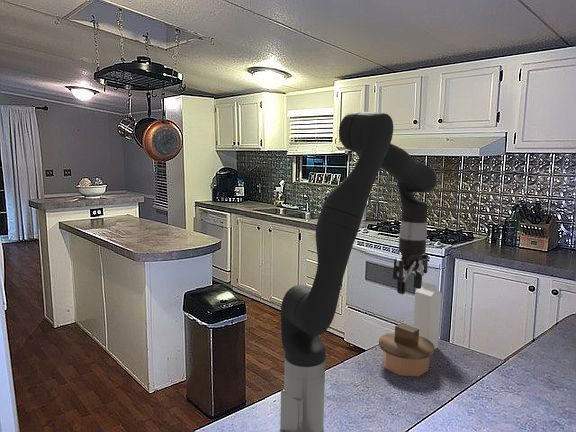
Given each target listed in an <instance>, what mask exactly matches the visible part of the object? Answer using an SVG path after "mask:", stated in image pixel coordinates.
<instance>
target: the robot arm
mask: <svg viewBox="0 0 576 432" xmlns="http://www.w3.org/2000/svg"><path fill="white" fill-rule="evenodd" d="M393 134H394V121H393V118H392V117H391V115H389V114H388V113H385V112H378V111H377V112H376V111H354V112H350V113H347V114H345V116H344V117H343V118H342V119H341V121H340V123H339V128H338V136H339V142H340V143H341V145H342V146H343V147H344V148H345V149H347V150H348V151H350V152H353V153H355V154H357V155H359V157H358V160H357V162H356V164H355V166H354V167H353V169H352V170H351V171H350V173H349V174H348V175H347V176H346V177H345V178H344V179H343V180H342V181H341V182H340V183H339V184H338V185H337V186H335V188H334V189H333V190H332V191H331V192H330V193H329V194H328V196H327V197H326V198H325V200H324V202H323V205H322V208H321V209H320V213H319V216H318V218H317V223H316V226H315V246H316V254H317V266H316V272H315V276H314V280H313V282H312V286H311V287H310V286H307V285H304V284H297V285H293V286H292V287H290V288H289V289H288V290H287V291H286V292H285V294H284V296H283V299H282V300H281V306H280V333H281V334H280V335H281V339H280V340H281V346H282V347H283V349H284V377H283V378H284V381H283V382H284V383H283V384H284V387H283V389H281V390H280V414H279V415H280V417H279V419H280V422H279V424H280V429H281V430H282V431H283V432H323V431H324V425H325V424H324V421H325V418H324V417H325V390H326V389H325V388H326V387H325V383H326V358H327V353H326V352H327V351H326V350H327V349H326V345H325V344H324V342H323V341H322V339H321V338H320V336H321V335H323V334H324V333H326V331H327V330H328V329H329V328H330V327H331V324H332V323H333V320H334V318H335V314H336V311H337V307H338V304H339V303H338V302H339V298H340V294H341V290H342V289H341V288H342V286H343V285H342V284H343V282H344V281H343V280H344V277H345V273H346V269H347V267H348V262H349V259H350V256H351V253H352V249H353V245H354V243H355V240H356V237H357V236H358V232H359V229H360V226H361V223H362V220H363V218H364V217H363V216H364V213H365V209H366V207H367V203H368V201H369V197H370V195H371V192H372V188H373V187H374V183H375V181H376V179H377V176H378V173H379V172H380V169H381V168H382V169H383V170H384V171H385V172H387V174H389V175H390V176H392V177H393V178H394V179H395V180H396V181H397V188H398V191H399V196H400V202H401V222H400V227H399V242H398V251H399V253H400V254H401V258H400V259H399V258H395V259H394V260H393V268H392V269H393V270H392V279H393V280H395V281H397V284H396V285H397V286H396V292H397V293H398V295H399V294H400V295H405V293H406V286H407V285H406V283H407V281H406V280H407V278H408V277H409V276H411V273H412V272H413V273H414V276H413V278H414V279H413V288H415V289H416V290H417V289H420V288H421V286H422V281H423V277H424V276H425V274H427V273H428V266H429V265H428V263H429V262H428V258H429V256H428V253H426V248H427V235H428V225H427V224H428V223H427V221H428V203H426V201H423V200H420V199H418V198H416V197H415V195H414V193H419V194H420V193H421V194H426V193H429V192H432V191H433V190H434V189H435V187H436V185H437V182H438V180H437V175H436V172H435V171H434V170H433V169H432V168H431V167H430V166H428V165H426V164H425V163H422V162H421V161H418V160H415V159H414V158H413V156H411V155H410V154H409V153H408V152H407V151H406V150H405V149H403V148H401V147H399V146H397V145H395V144H394V143H392V139H393Z"/></svg>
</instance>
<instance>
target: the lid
mask: <svg viewBox="0 0 576 432" xmlns="http://www.w3.org/2000/svg"><path fill="white" fill-rule="evenodd" d="M378 347H380V349H381V350H382V352H383V351H385V352H386V353H388V354H390V355H393V356H396V357H400V358H405V359H423V358H427V357H429V358H430V357H431V356H432V355H434V353H435V349H434V345H433V344H432V342H430V341H429V340H428V339H426V338H424V337H421V336H419V329H417V328H414V327H413V325H412V326H411V325H409V324H406V323H403V322H401V323H399V324H396V325H395V326H394V332H389V333H385V334H383V335H381V336H380V337H379V338H378Z"/></svg>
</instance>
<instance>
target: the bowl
mask: <svg viewBox="0 0 576 432" xmlns="http://www.w3.org/2000/svg"><path fill="white" fill-rule="evenodd" d="M382 363H383V365H384V368H385V369H386V370H388V371H390V372H392V373H395V374H396V375H398V376H404V377H405V376H406V377H408V376H409V377H420V376H422V375H424V374H425V373H426V372H428V371H429V370H430V368H429V367H430V357H427V358H423V359H405V358H400V357H396V356H393V355H390V354H388V353H386V352H385V351H383V350H382Z"/></svg>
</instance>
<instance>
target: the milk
mask: <svg viewBox="0 0 576 432" xmlns="http://www.w3.org/2000/svg"><path fill="white" fill-rule="evenodd" d="M442 295H443V294H442V292H441V291H440V290H438V285H437V284H435V283H431V282H427V281H424V280H422V286H421V288H420V289H417V288H416V290H415V294H414V307H413V308H414V309H413V310H414V311H413V322H412V323H413V325H412V327H414V328H417V329H419V336H421V337H424V338H426V339H428V340H429V341H430V342H432V344H433V345H434V350H436V349H438V348H439V338H440V337H439V336H440V325H441V324H440V323H441V309H442Z"/></svg>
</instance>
